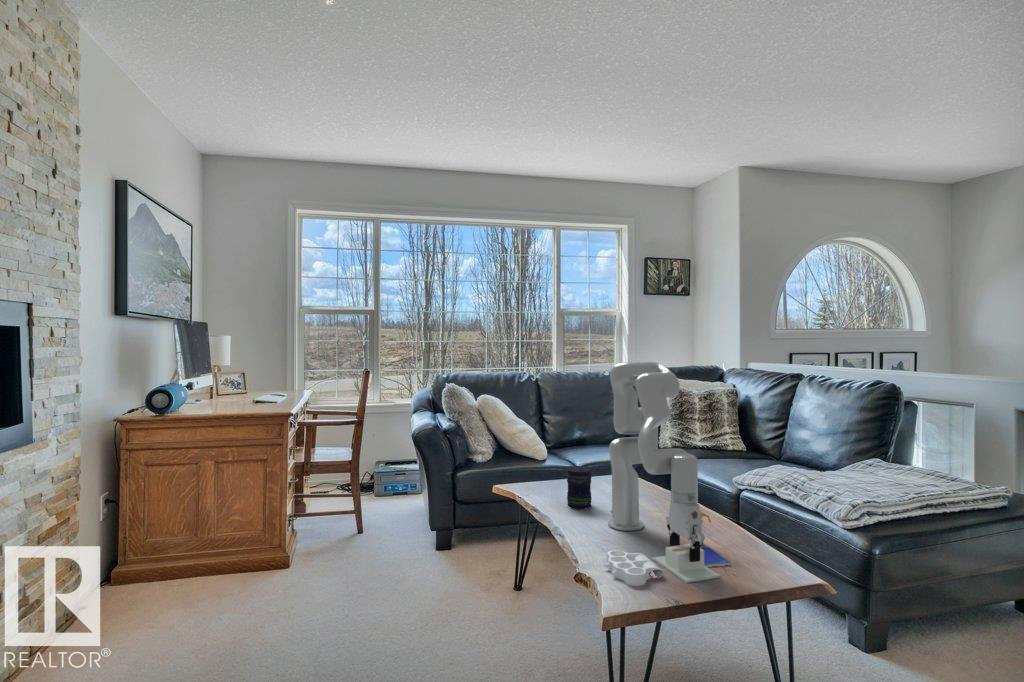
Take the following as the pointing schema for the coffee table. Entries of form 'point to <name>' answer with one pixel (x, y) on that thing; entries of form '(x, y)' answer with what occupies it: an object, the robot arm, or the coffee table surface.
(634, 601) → the coffee table surface
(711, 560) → the hard drive
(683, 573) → the mat
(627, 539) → the coffee table surface
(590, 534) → the coffee table surface
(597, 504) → the coffee table surface
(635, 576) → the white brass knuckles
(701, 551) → the card box
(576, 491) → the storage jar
